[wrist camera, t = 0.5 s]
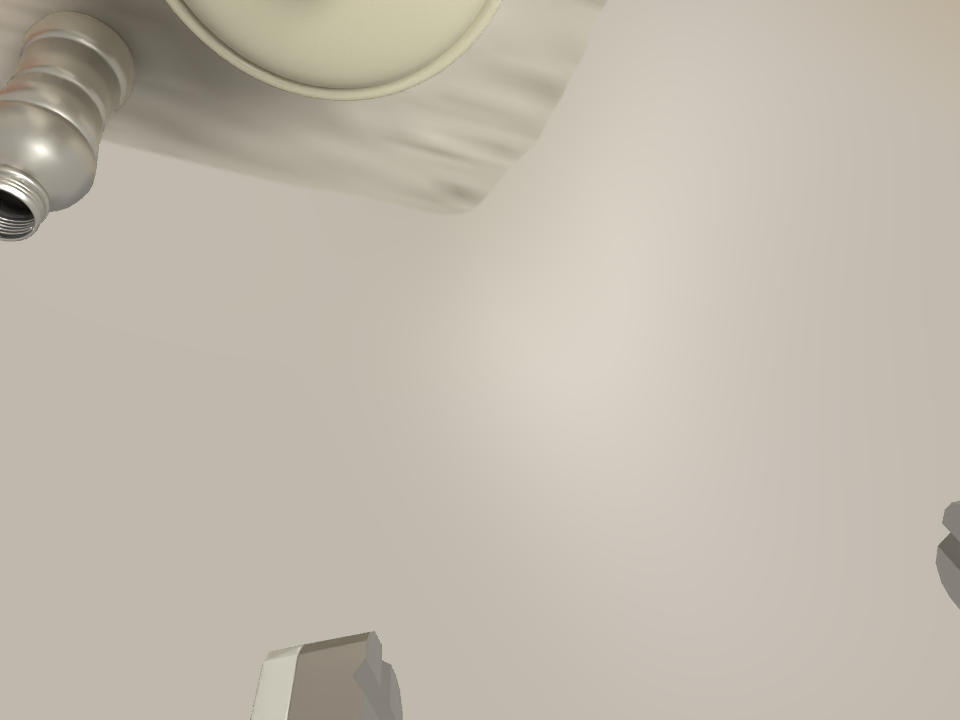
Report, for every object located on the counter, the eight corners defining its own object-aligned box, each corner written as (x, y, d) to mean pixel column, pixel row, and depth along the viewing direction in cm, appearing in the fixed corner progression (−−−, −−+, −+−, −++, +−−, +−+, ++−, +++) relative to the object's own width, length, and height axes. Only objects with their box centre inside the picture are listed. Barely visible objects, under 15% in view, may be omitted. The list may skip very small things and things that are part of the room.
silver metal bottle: (34, -15, 45) (-93, 139, 32) (145, 22, 48) (71, 180, 34) (35, 74, 49) (-76, 245, 36) (138, 105, 52) (69, 274, 38)
